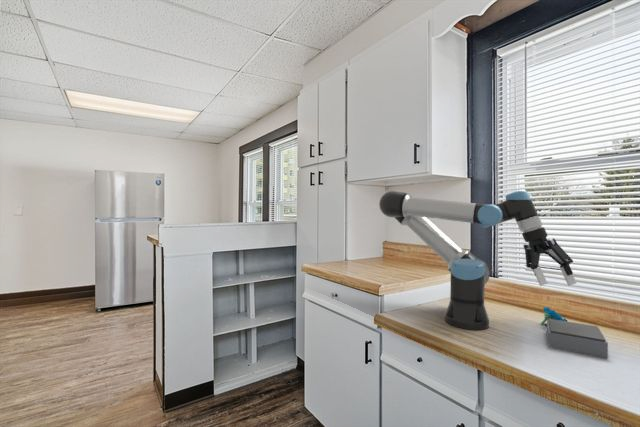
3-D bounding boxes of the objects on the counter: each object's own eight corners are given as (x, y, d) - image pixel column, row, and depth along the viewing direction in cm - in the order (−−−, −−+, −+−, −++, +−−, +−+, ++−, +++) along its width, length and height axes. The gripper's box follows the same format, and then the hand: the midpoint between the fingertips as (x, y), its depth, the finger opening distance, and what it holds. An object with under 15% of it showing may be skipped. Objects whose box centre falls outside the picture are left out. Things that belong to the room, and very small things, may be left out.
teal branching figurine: (579, 329, 113) (556, 307, 114) (567, 341, 112) (544, 319, 114) (559, 323, 123) (538, 303, 125) (548, 334, 123) (527, 314, 125)
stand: (548, 346, 102) (548, 330, 102) (546, 332, 114) (546, 317, 114) (607, 358, 94) (607, 341, 94) (598, 341, 107) (599, 326, 107)
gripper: (567, 220, 111) (596, 280, 107) (519, 232, 135) (541, 281, 131) (547, 226, 110) (576, 287, 106) (503, 237, 134) (525, 287, 130)
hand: (557, 284), depth 118 cm, fingers open, 13 cm apart
